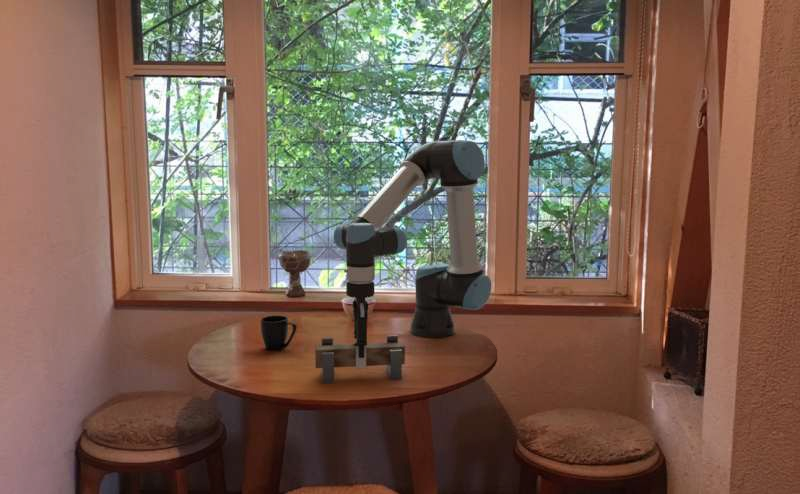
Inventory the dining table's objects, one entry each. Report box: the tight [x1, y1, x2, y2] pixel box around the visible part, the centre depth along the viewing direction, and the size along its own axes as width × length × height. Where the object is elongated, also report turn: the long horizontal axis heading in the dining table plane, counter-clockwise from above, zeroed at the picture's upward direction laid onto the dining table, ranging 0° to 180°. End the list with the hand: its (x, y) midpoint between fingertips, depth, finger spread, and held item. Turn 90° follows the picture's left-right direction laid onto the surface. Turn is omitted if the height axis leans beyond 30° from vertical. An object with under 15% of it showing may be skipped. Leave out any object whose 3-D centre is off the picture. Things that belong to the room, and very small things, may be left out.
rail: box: [314, 341, 406, 369], centre depth 170 cm, size 24×4×5 cm, turn 98°
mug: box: [260, 315, 298, 352], centre depth 194 cm, size 8×12×10 cm
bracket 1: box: [321, 337, 335, 384], centre depth 169 cm, size 3×8×10 cm, turn 8°
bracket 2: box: [386, 334, 403, 381], centre depth 171 cm, size 3×8×10 cm, turn 8°
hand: (360, 365), depth 170 cm, fingers closed on rail, 4 cm apart
